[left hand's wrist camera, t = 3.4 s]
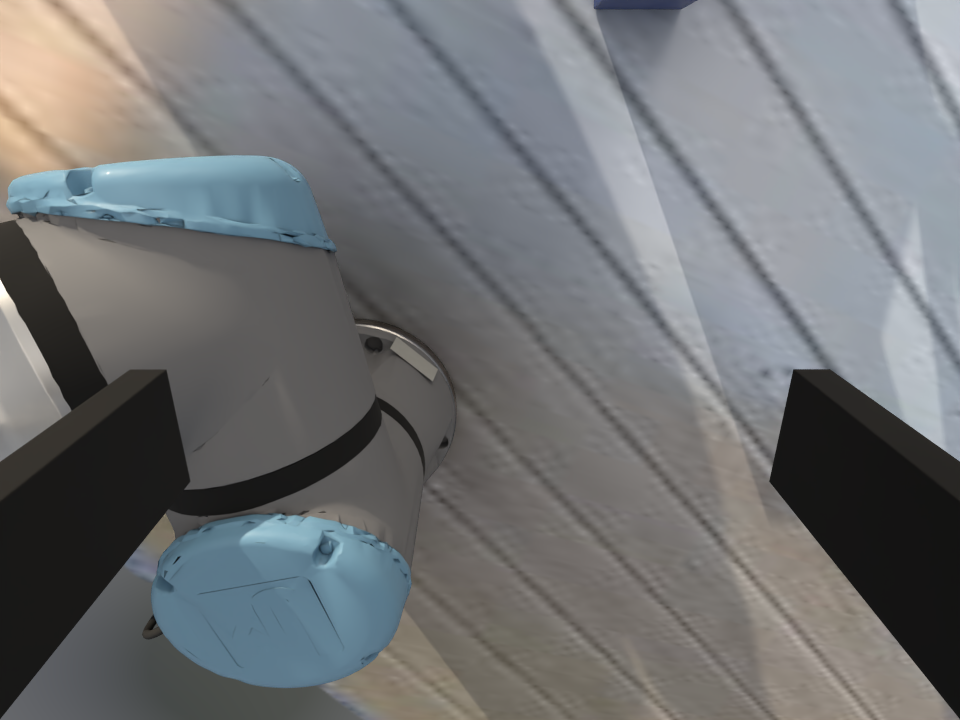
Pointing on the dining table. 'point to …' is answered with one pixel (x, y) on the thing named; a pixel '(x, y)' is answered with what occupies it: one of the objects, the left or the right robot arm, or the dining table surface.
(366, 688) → the dining table surface
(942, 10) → the dining table surface
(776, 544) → the dining table surface
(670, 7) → the bar
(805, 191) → the dining table surface
